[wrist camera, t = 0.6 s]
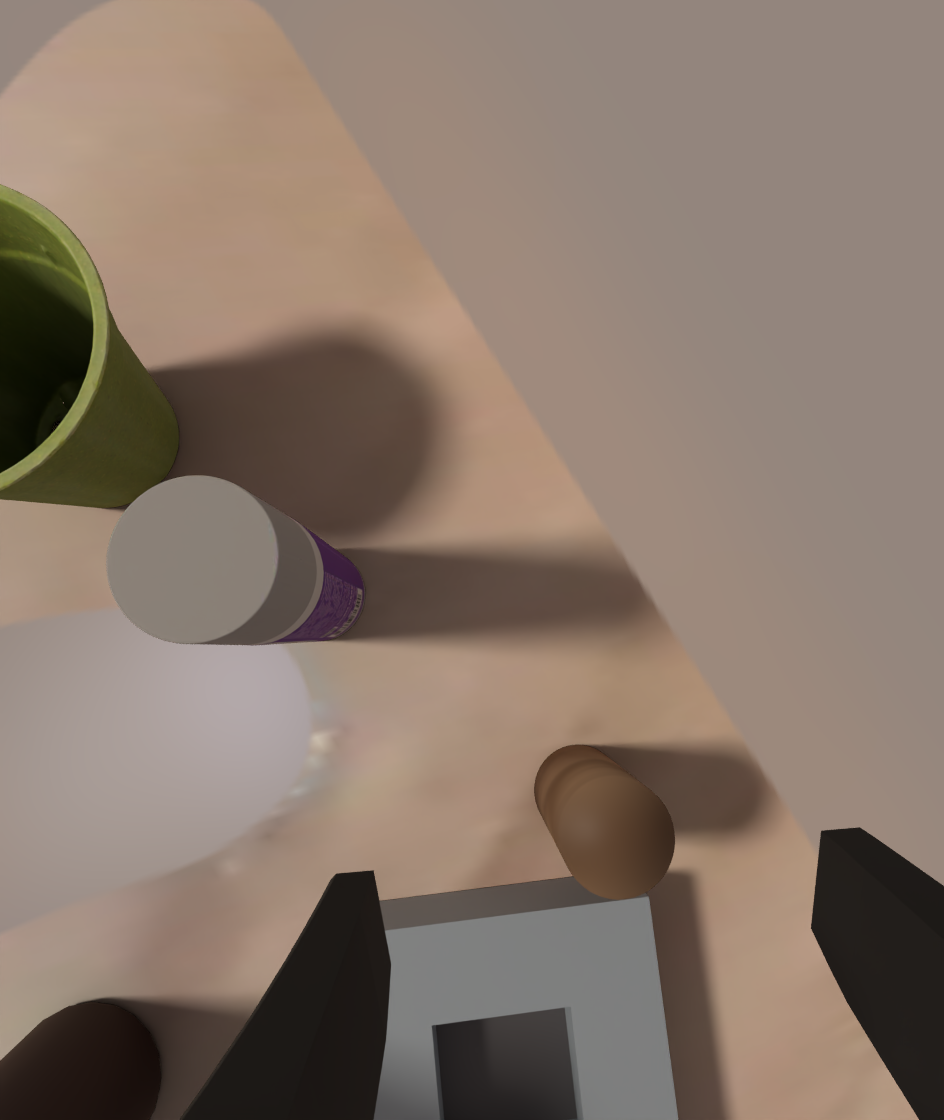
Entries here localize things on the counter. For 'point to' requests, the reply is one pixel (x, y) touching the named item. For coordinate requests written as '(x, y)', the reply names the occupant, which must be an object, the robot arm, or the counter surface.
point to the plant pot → (70, 375)
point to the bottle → (82, 1068)
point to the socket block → (524, 1007)
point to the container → (227, 569)
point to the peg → (604, 822)
